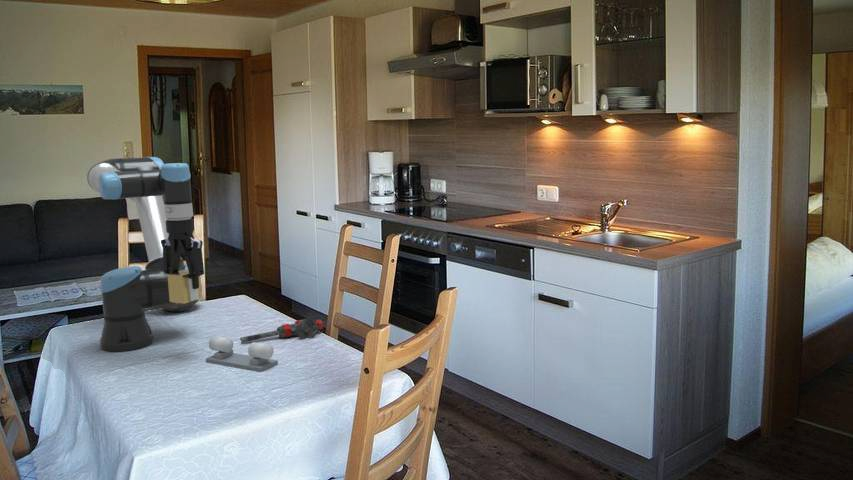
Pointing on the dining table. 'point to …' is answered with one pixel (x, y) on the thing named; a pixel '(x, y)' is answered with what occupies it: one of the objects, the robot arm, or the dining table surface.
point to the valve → (291, 330)
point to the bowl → (179, 306)
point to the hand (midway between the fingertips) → (186, 298)
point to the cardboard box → (181, 287)
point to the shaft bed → (255, 361)
